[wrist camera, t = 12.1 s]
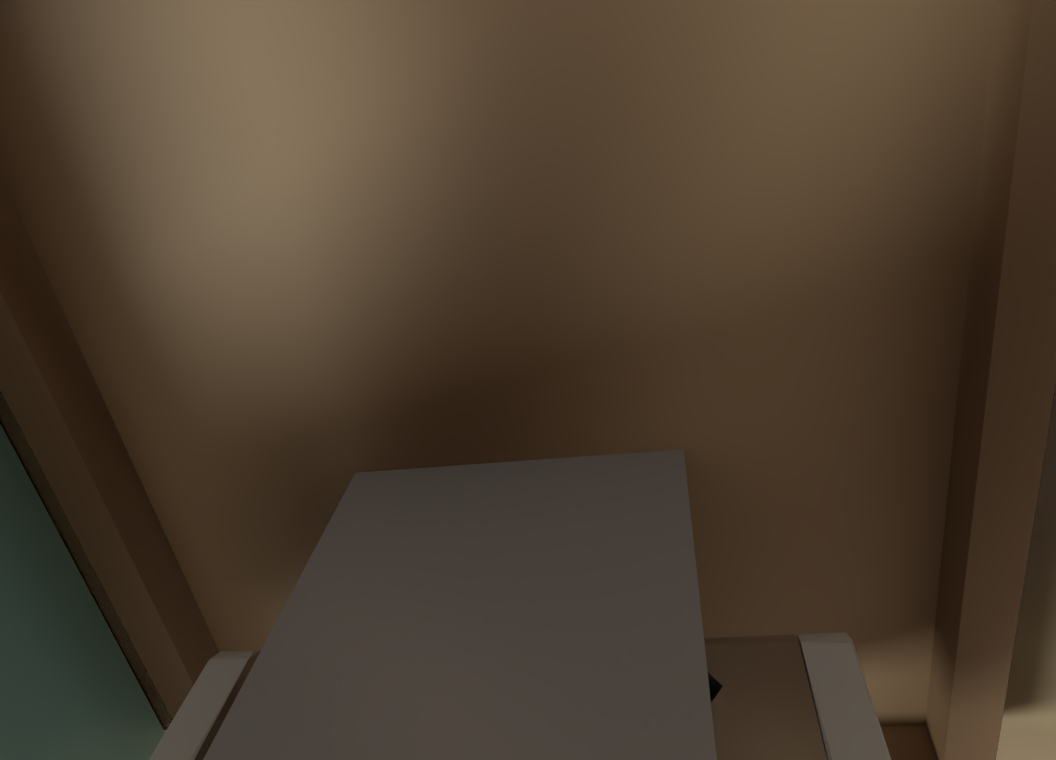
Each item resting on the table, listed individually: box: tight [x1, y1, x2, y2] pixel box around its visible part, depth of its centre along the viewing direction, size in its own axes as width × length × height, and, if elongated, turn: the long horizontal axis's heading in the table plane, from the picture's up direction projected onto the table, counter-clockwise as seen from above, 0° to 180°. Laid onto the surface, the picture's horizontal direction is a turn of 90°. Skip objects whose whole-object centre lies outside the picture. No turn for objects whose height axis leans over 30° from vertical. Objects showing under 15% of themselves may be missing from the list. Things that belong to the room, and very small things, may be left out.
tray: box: [0, 0, 1056, 760], centre depth 9 cm, size 11×12×1 cm
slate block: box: [203, 449, 717, 760], centre depth 8 cm, size 4×4×5 cm
